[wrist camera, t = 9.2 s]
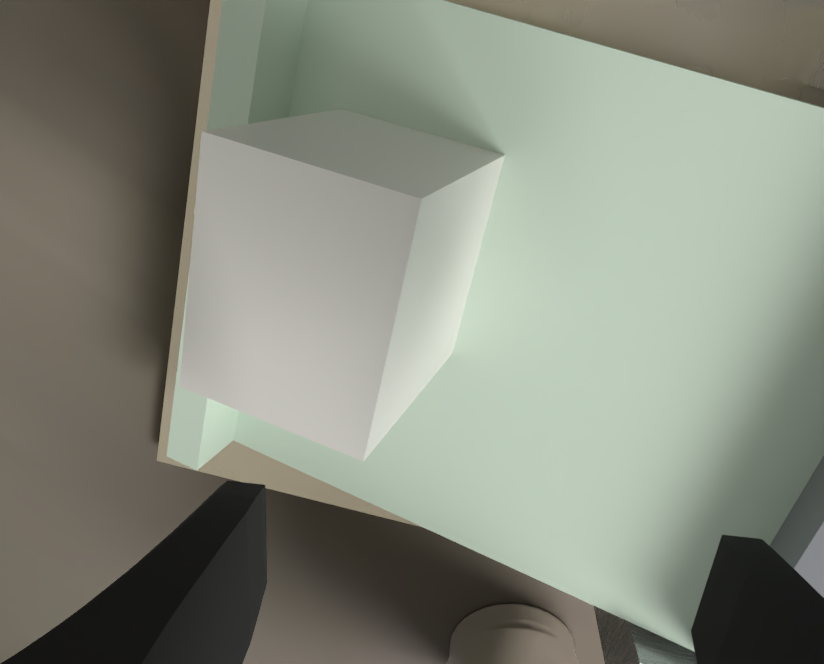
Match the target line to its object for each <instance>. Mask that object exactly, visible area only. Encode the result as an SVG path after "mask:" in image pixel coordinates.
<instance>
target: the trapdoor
mask: <svg viewBox="0 0 824 664" xmlns="http://www.w3.org/2000/svg"><path fill="white" fill-rule="evenodd" d="M338 109H345V110H348V111H352V112H355V113H359V114H362V115H366V116H369V117H373V118H376V119H380V120H383V121H387V122H390V123H394V124H397V125H401V126H405V127H408V128H412V129H415V130H419V131H422V132H426V133H429V134H433V135H436V136H440V137H443V138H447V139H450V140H454V141H457V142H461V143H464V144H468V145H471V146H475V147H478V148H482V149H485V150H489V151H492V152H496V153H499V154H503V155H505V157H504V160H503V164H502V168H501V172H500V176H499V179H498V183H497V187H496V191H495V195H494V198H493V202H492V206H491V210H490V213H489V217H488V221H487V225H486V229H485V232H484V236H483V240H482V244H481V248H480V251H479V255H478V259H477V263H476V267H475V270H474V274H473V278H472V282H471V285H470V289H469V293H468V297H467V301H466V304H465V308H464V312H463V316H462V320H461V323H460V327H459V331H458V335H457V339H456V342H455V346H454V350H453V353H452V355H451V356H450V357H449V358H448V359H447V361H446V362H445V363H444V364H443V366H442V367H441V368H440V369H439V370H438V372H437V373H436V374H435V375H434V376H433V378H432V379H431V380H430V381H429V383H428V384H427V385H426V386H425V387H424V389H423V390H422V391H421V392H420V394H419V395H418V396H417V397H416V398H415V400H414V401H413V402H412V403H411V404H410V406H409V407H408V408H407V409H406V411H405V412H404V413H403V414H402V415H401V417H400V418H399V419H398V420H397V421H396V423H395V424H394V425H393V426H392V428H391V429H390V430H389V431H388V432H387V434H386V435H385V436H384V437H383V438H382V440H381V441H380V442H379V443H378V445H377V446H376V447H375V448H374V449H373V451H372V452H371V453H370V454H369V456H368V457H367V458H366V459H365V460H364V462H363V461H361V460H358V459H356V458H353V457H351V456H349V455H346V454H344V453H341V452H339V451H336V450H334V449H331V448H329V447H327V446H324V445H322V444H319V443H317V442H314V441H312V440H309V439H307V438H305V437H302V436H300V435H297V434H295V433H292V432H290V431H287V430H285V429H282V428H280V427H278V426H275V425H273V424H270V423H268V422H265V421H263V420H260V419H258V418H256V417H253V416H251V415H248V414H246V413H243V412H241V411H238V410H236V409H233V408H231V407H229V406H226V405H224V404H221V403H219V402H216V401H214V400H211V399H209V398H207V397H204V396H202V395H199V394H197V393H194V392H192V391H189V390H187V389H184V388H182V387H180V375H181V363H182V352H183V340H184V329H185V317H186V306H187V294H188V285H187V293H186V301H185V310H184V318H183V326H182V334H181V342H180V350H179V358H178V366H177V375H176V383H175V391H174V399H173V407H172V415H171V423H170V431H169V440H168V448H167V457H169V458H171V459H173V460H175V461H177V462H179V463H182V464H184V465H186V466H188V467H190V468H192V469H194V470H196V471H197V470H198V469H199V468H201V467H202V466H203V465H204V464H205V463H207V462H208V461H209V460H210V459H211V458H213V457H214V456H215V455H216V454H218V453H219V452H220V451H221V450H222V449H224V448H225V447H226V446H227V445H228V444H230V443H231V442H232V441H233V440H234V441H236V442H238V443H240V444H242V445H245V446H247V447H249V448H251V449H253V450H256V451H258V452H260V453H262V454H264V455H266V456H269V457H271V458H273V459H275V460H277V461H280V462H282V463H284V464H286V465H288V466H290V467H293V468H295V469H297V470H299V471H301V472H304V473H306V474H308V475H310V476H312V477H314V478H317V479H319V480H321V481H323V482H325V483H328V484H330V485H332V486H334V487H336V488H338V489H341V490H343V491H345V492H347V493H349V494H352V495H354V496H356V497H358V498H360V499H362V500H365V501H367V502H369V503H371V504H373V505H376V506H378V507H380V508H382V509H384V510H386V511H389V512H391V513H393V514H395V515H397V516H400V517H402V518H404V519H406V520H408V521H410V522H413V523H415V524H417V525H419V526H421V527H424V528H426V529H428V530H430V531H432V532H434V533H437V534H439V535H441V536H443V537H445V538H448V539H450V540H452V541H454V542H456V543H458V544H461V545H463V546H465V547H467V548H469V549H472V550H474V551H476V552H478V553H480V554H482V555H485V556H487V557H489V558H491V559H493V560H496V561H498V562H500V563H502V564H504V565H506V566H509V567H511V568H513V569H515V570H517V571H519V572H522V573H524V574H526V575H528V576H530V577H533V578H535V579H537V580H539V581H541V582H543V583H546V584H548V585H550V586H552V587H554V588H557V589H559V590H561V591H563V592H565V593H567V594H570V595H572V596H574V597H576V598H578V599H581V600H583V601H585V602H587V603H589V604H591V605H594V606H596V607H598V608H600V609H602V610H605V611H607V612H609V613H611V614H613V615H615V616H618V617H620V618H622V619H624V620H626V621H629V622H631V623H633V624H635V625H637V626H639V627H642V628H644V629H646V630H648V631H650V632H653V633H655V634H657V635H659V636H661V637H663V638H666V639H668V640H670V641H672V642H674V643H677V644H679V645H681V646H683V647H685V648H687V649H690V650H692V651H694V652H695V650H694V645H693V639H692V634H691V629H692V626H693V623H694V620H695V617H696V613H697V610H698V607H699V604H700V601H701V598H702V595H703V592H704V589H705V586H706V583H707V580H708V576H709V573H710V570H711V567H712V564H713V561H714V558H715V555H716V552H717V549H718V546H719V542H720V539H721V536H722V535H730V536H739V537H748V538H758V539H762V540H764V541H765V542H766V543H767V544H768V545H769V546H770V547H771V548H773V549H774V550H775V551H776V552H777V553H778V554H779V555H780V556H781V557H782V558H783V559H784V560H785V561H786V562H787V563H788V564H789V565H790V566H791V567H792V568H794V569H795V570H796V571H797V572H798V573H799V574H800V575H801V576H802V577H803V578H804V579H805V580H806V581H807V582H808V583H809V584H810V585H811V586H812V587H813V588H814V589H815V590H816V591H817V592H818V593H819V594H820V595H821V596H822V597H823V598H824V107H821V106H817V105H814V104H810V103H807V102H803V101H800V100H796V99H793V98H789V97H786V96H782V95H779V94H775V93H772V92H768V91H764V90H761V89H757V88H754V87H750V86H747V85H743V84H740V83H736V82H733V81H729V80H726V79H722V78H719V77H715V76H711V75H708V74H704V73H701V72H697V71H694V70H690V69H687V68H683V67H680V66H676V65H673V64H669V63H666V62H662V61H659V60H655V59H651V58H648V57H644V56H641V55H637V54H634V53H630V52H627V51H623V50H620V49H616V48H613V47H609V46H606V45H602V44H598V43H595V42H591V41H588V40H584V39H581V38H577V37H574V36H570V35H567V34H563V33H560V32H556V31H553V30H549V29H545V28H542V27H538V26H535V25H531V24H528V23H524V22H521V21H517V20H514V19H510V18H507V17H503V16H500V15H496V14H493V13H489V12H485V11H482V10H478V9H475V8H471V7H468V6H464V5H461V4H457V3H454V2H450V1H447V0H223V1H222V9H221V17H220V25H219V33H218V41H217V50H216V58H215V66H214V74H213V82H212V90H211V98H210V106H209V115H208V123H207V130H212V129H218V128H225V127H231V126H237V125H244V124H250V123H256V122H263V121H269V120H275V119H282V118H288V117H294V116H301V115H307V114H313V113H320V112H326V111H332V110H338ZM189 271H190V269H189ZM188 283H189V277H188Z"/></svg>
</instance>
